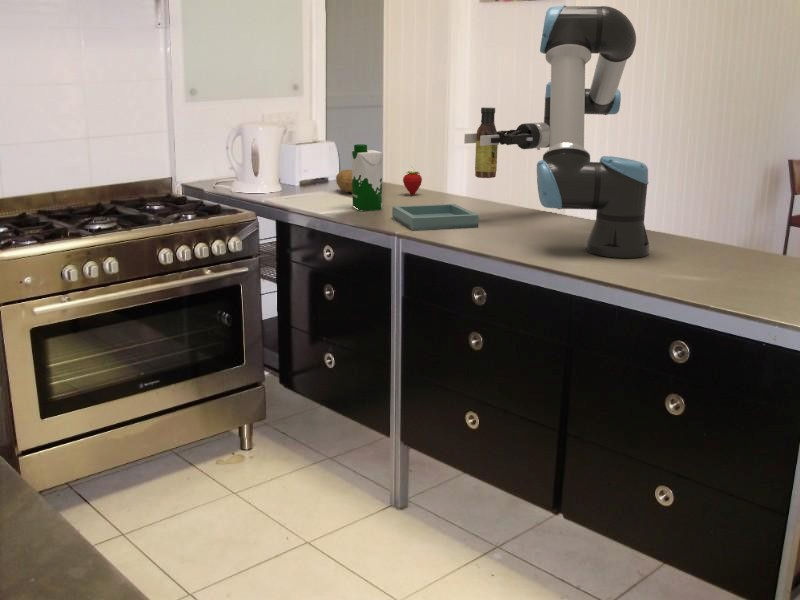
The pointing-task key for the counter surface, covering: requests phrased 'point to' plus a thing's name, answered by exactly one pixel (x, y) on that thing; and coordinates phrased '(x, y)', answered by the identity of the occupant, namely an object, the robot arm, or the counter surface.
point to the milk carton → (366, 178)
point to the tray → (434, 217)
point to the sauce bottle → (488, 153)
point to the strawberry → (412, 181)
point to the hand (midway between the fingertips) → (473, 139)
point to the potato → (345, 180)
